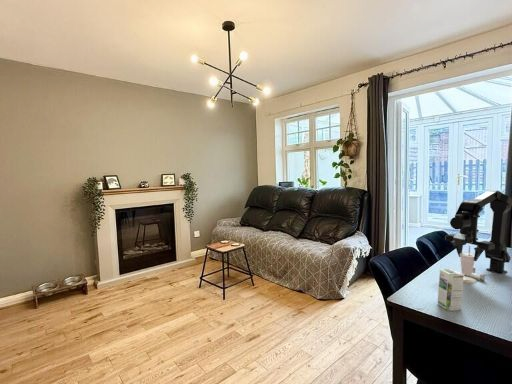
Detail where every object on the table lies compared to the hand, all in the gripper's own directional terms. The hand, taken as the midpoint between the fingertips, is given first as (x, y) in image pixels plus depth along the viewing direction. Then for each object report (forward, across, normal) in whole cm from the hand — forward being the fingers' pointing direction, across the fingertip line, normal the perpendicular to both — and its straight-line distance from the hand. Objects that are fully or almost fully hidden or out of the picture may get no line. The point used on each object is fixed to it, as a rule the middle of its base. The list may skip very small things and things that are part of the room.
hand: (467, 258), depth 132 cm
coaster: (+10, 0, 0) cm, 10 cm away
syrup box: (+10, +13, -34) cm, 38 cm away
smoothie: (+8, 0, 0) cm, 8 cm away
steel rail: (+10, 0, +8) cm, 13 cm away
